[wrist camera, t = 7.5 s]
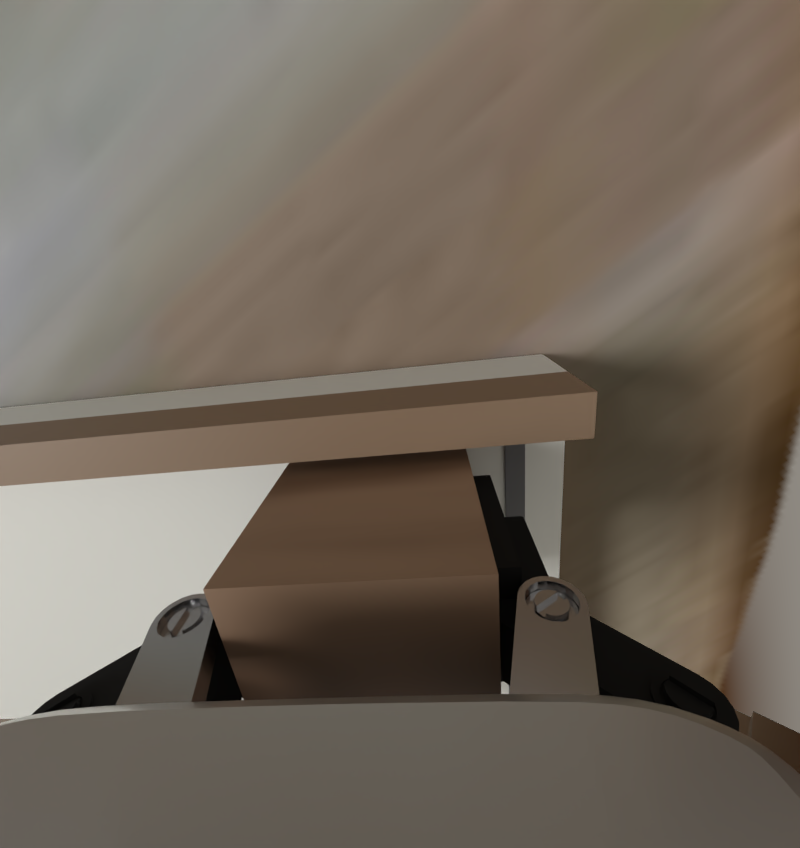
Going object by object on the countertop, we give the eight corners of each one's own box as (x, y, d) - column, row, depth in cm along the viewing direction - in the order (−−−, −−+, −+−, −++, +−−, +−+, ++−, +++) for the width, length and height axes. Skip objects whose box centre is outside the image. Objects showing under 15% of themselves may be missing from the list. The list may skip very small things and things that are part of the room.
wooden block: (301, 445, 12) (203, 589, 7) (461, 431, 12) (498, 573, 6) (353, 686, 16) (319, 904, 11) (475, 683, 16) (506, 908, 10)
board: (-127, 420, 16) (-327, 474, 11) (542, 354, 13) (597, 391, 9) (30, 668, 21) (-69, 770, 16) (536, 650, 18) (571, 761, 14)
